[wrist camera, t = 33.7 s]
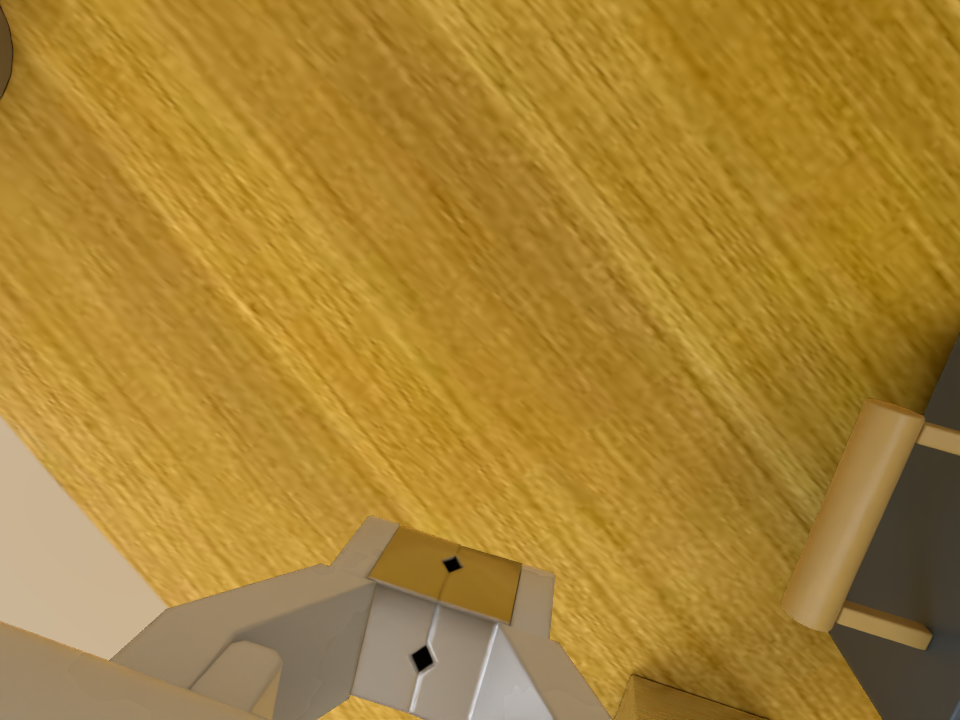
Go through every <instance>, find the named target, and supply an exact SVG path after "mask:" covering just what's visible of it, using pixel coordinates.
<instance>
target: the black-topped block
mask: <svg viewBox="0 0 960 720" xmlns="http://www.w3.org/2000/svg"><path fill="white" fill-rule="evenodd" d="M615 720H767V719H764V718H761V717H758V716H755V715H752V714H749V713H746V712H743V711H740V710H737V709H734V708H731V707H728V706H725V705H722V704H719V703H716V702H713V701H710V700H707V699H704V698H701V697H698V696H695V695H692V694H689V693H686V692H683V691H680V690H677V689H674V688H671V687H668V686H665V685H662V684H659V683H656V682H653V681H650V680H647V679H644V678H641V677H638V676H635V675H631V677H630V680H629V682H628V685H627V688H626V691H625V693H624V696H623V699H622V702H621V704H620V707H619V710H618V713H617V715H616V718H615Z"/></svg>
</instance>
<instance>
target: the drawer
mask: <svg viewBox="0 0 960 720" xmlns="http://www.w3.org/2000/svg"><path fill="white" fill-rule="evenodd" d="M781 607H782V609H783V610H784V611H785V613H786V614H787V615H789V616H790V617H791V618H792V619H794V620H795V621H797V622H798V623H800V624H802V625H804V626H806V627H808V628H810V629H813V630H816V631H821V632H828V633H829V634H830V636H831V638H832V639H833V641H834V642H835V644H836V646H837V647H838V649H839V650H840V652H841V654H842V655H843V657H844V658H845V660H846V662H847V663H848V665H849V666H850V668H851V670H852V671H853V673H854V674H855V676H856V678H857V679H858V681H859V682H860V684H861V686H862V687H863V689H864V690H865V692H866V694H867V695H868V697H869V699H870V700H871V702H872V703H873V705H874V707H875V708H876V710H877V711H878V713H879V715H880V716H881V718H882V719H883V720H960V333H959V335H958V338H957V340H956V342H955V344H954V347H953V349H952V351H951V353H950V356H949V358H948V360H947V362H946V365H945V367H944V369H943V371H942V374H941V376H940V378H939V380H938V383H937V385H936V387H935V389H934V392H933V394H932V396H931V398H930V401H929V403H928V405H927V407H926V410H925V412H924V414H923V416H922V415H921V414H919V413H917V412H914V411H912V410H909V409H907V408H904V407H901V406H898V405H895V404H892V403H889V402H885V401H881V400H877V399H871V398H867V399H866V400H865V402H864V404H863V407H862V409H861V412H860V414H859V416H858V419H857V421H856V424H855V426H854V428H853V431H852V433H851V436H850V438H849V440H848V443H847V445H846V447H845V450H844V452H843V455H842V457H841V459H840V462H839V464H838V467H837V469H836V471H835V474H834V476H833V479H832V481H831V483H830V486H829V488H828V490H827V493H826V495H825V498H824V500H823V502H822V505H821V507H820V510H819V512H818V514H817V517H816V519H815V522H814V524H813V526H812V529H811V531H810V534H809V536H808V538H807V541H806V543H805V545H804V548H803V550H802V553H801V555H800V557H799V560H798V562H797V565H796V567H795V569H794V572H793V574H792V577H791V579H790V581H789V584H788V586H787V588H786V591H785V593H784V596H783V598H782V600H781Z"/></svg>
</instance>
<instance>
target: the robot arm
mask: <svg viewBox="0 0 960 720" xmlns="http://www.w3.org/2000/svg"><path fill="white" fill-rule="evenodd" d="M521 565H522V566H521ZM554 584H555V575H554V573H553V572H551V571H547V570H543V569H540V568H536V567H532V566H528V565H525V564H522V563H519V562H515V561H512V560H508V559H505V558H502V557H498V556H495V555H491V554H488V553H484V552H481V551H478V550H474V549H471V548H467V547H464V546H461V545H460V544H457V543H454V542H451V541H448V540H445V539H442V538H439V537H436V536H433V535H430V534H427V533H424V532H421V531H419V530H416V529H413V528H410V527H407V526H404V525H400V523H396V522H393V521H389V520H386V519H383V518H379V517H376V516H373V515H372V516H369V517H367V518H366V519H365V521H364V522H363V523H362V525H361V526H360V527H359V529H358V530H357V531H356V533H355V534H354V535H353V536H352V538H351V539H350V540H349V542H348V543H347V544H346V546H345V547H344V548H343V550H342V551H341V552H340V554H339V555H338V556H337V557H336V559H335V560H334V561H333V563H332V564H331V565H330V566H327V565H324V564H318V565H314V566H311V567H308V568H304V569H301V570H297V571H294V572H291V573H287V574H284V575H280V576H277V577H274V578H270V579H267V580H263V581H260V582H257V583H253V584H250V585H246V586H243V587H240V588H236V589H233V590H229V591H226V592H223V593H219V594H216V595H212V596H209V597H206V598H202V599H199V600H195V601H192V602H188V603H185V604H182V605H178V606H175V607H171V608H168V609H166V610H165V611H164V612H163V613H161V614H160V615H159V616H158V617H157V618H156V619H155V620H154V621H153V622H152V623H150V624H149V625H148V626H147V627H146V628H145V629H144V630H142V631H141V632H140V633H139V634H138V635H137V636H136V637H135V638H134V639H133V640H131V642H129V643H128V644H127V645H126V646H125V647H124V648H123V649H121V650H120V651H119V652H118V653H117V654H116V655H115V656H114V657H113V658H111V659H110V660H109V661H108V660H106V659H103V658H100V657H97V656H95V655H92V654H89V653H87V652H83V651H81V650H78V649H76V648H73V647H70V646H67V645H65V644H62V643H59V642H56V641H54V640H51V639H48V638H45V637H42V636H40V635H37V634H34V633H32V632H29V631H26V630H23V629H21V628H18V627H15V626H12V625H10V624H7V623H4V622H2V621H0V720H317V719H318V718H320V717H321V716H323V715H324V714H326V713H327V712H329V711H330V710H332V709H334V708H335V707H337V706H338V705H340V704H341V703H343V702H344V701H346V700H347V699H349V697H350V695H353V696H356V697H359V698H362V699H365V700H368V701H372V702H375V703H378V704H381V705H384V706H387V707H390V708H393V709H397V710H400V711H403V712H406V713H408V712H409V714H411V715H414V716H416V717H419V718H422V719H424V720H613V719H612V718H611V716H610V715H609V714H608V712H607V711H606V709H605V708H604V706H603V705H602V704H601V702H600V701H599V699H598V698H597V696H596V695H595V694H594V692H593V691H592V689H591V688H590V686H589V685H588V684H587V682H586V681H585V679H584V678H583V676H582V675H581V674H580V672H579V671H578V669H577V668H576V666H575V665H574V663H573V662H572V661H571V659H570V658H569V656H568V655H567V653H566V652H565V651H564V649H563V648H562V646H561V645H560V643H559V642H556V641H553V640H550V639H549V638H550V627H551V616H552V605H553V595H554Z"/></svg>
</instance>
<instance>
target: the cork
mask: <svg viewBox="0 0 960 720" xmlns="http://www.w3.org/2000/svg"><path fill="white" fill-rule="evenodd" d="M12 54H13V50H12V44H11V37H10V31H9V26H8V24H7V21H6V19H5V17H4V14H3V12H2V10H1V7H0V97H1V96H2V94H3V92H4V89H5V87H6V84H7V82H8V80H9V77H10V73H11V63H12Z"/></svg>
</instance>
